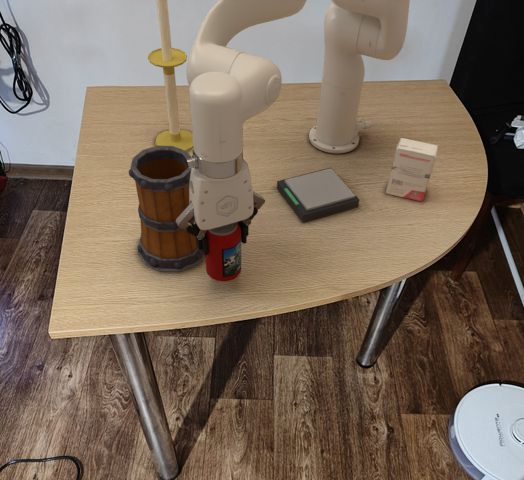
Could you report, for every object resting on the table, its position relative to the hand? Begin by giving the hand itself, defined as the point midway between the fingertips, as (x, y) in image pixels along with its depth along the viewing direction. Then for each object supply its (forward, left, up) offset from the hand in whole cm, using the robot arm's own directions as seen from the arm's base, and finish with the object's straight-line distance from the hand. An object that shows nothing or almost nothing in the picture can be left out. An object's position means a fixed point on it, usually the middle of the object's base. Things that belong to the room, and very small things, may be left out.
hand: (222, 243), depth 100 cm
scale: (-30, -17, -10) cm, 35 cm away
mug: (+5, -16, -10) cm, 19 cm away
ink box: (-50, -11, -10) cm, 52 cm away
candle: (-8, -50, -10) cm, 51 cm away
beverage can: (0, 0, -7) cm, 7 cm away
